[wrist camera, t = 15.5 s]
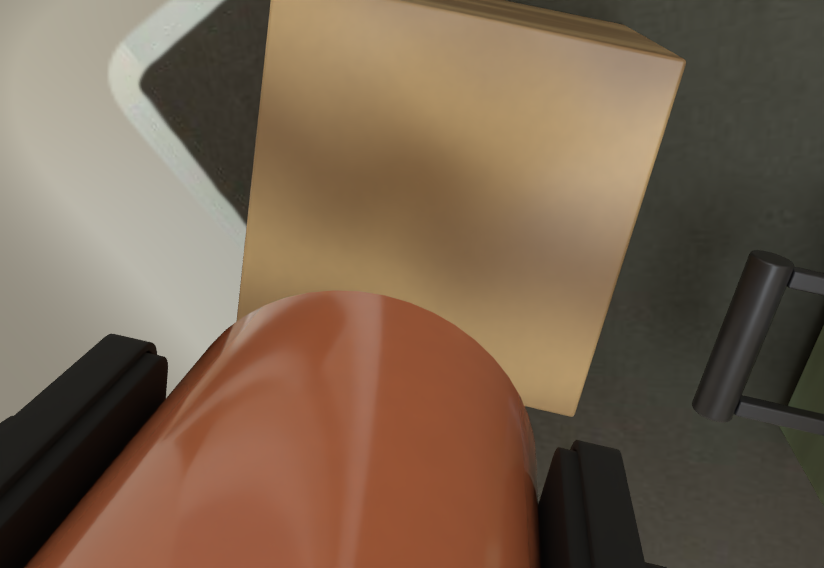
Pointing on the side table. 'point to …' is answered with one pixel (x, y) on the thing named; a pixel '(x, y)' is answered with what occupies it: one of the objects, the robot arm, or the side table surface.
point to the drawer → (737, 352)
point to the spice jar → (321, 452)
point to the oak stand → (458, 169)
